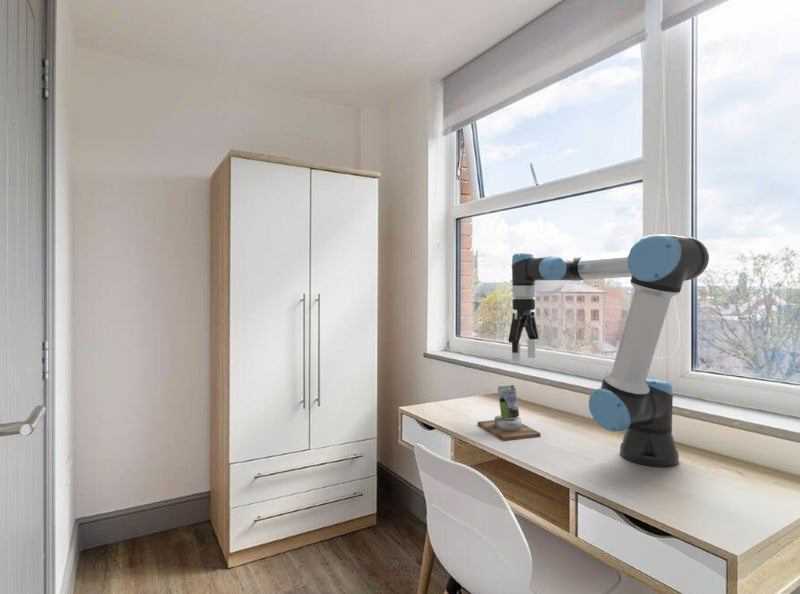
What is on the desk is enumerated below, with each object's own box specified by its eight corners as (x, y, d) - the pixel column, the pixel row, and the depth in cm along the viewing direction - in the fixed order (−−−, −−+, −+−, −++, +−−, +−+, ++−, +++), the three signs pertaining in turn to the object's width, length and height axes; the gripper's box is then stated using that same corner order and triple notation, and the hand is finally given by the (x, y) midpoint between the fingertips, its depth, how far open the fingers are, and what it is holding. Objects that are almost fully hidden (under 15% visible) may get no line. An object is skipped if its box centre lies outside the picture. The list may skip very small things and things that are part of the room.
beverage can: (516, 422, 159) (516, 386, 158) (495, 419, 162) (495, 384, 162) (521, 417, 164) (521, 383, 164) (500, 415, 168) (500, 381, 167)
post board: (540, 436, 157) (540, 424, 157) (503, 440, 153) (503, 427, 152) (512, 421, 174) (512, 410, 174) (477, 425, 170) (477, 413, 170)
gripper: (527, 297, 174) (527, 355, 174) (497, 299, 154) (498, 363, 155) (547, 297, 170) (547, 356, 170) (519, 299, 150) (520, 365, 150)
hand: (524, 360), depth 162 cm, fingers open, 13 cm apart
